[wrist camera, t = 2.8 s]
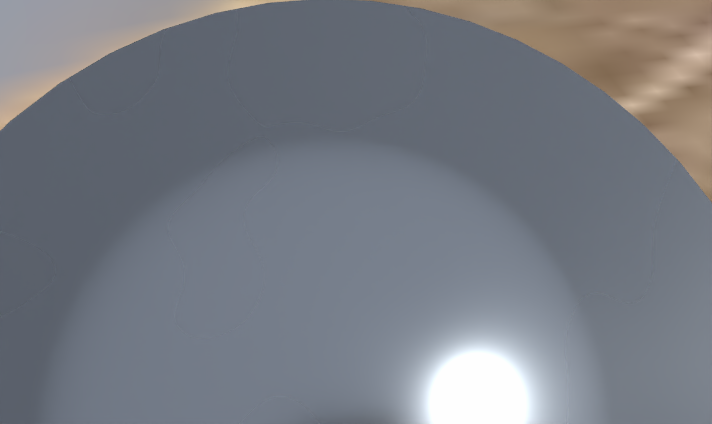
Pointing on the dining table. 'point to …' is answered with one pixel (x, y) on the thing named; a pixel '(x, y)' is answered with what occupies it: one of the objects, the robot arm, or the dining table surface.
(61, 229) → the canister
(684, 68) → the dining table surface
